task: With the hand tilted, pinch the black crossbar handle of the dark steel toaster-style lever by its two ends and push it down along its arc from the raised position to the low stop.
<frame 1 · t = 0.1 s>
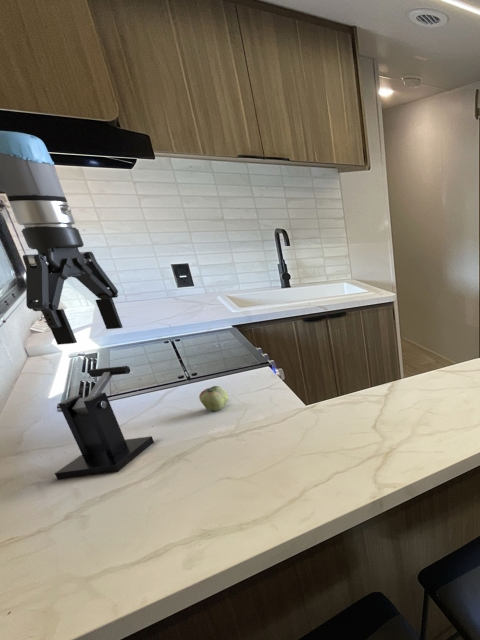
hand: (92, 335, 83), 24 cm above the countertop, tool pointing down, fingers open, 13 cm apart
apple: (217, 408, 106), on the countertop
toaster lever: (97, 389, 82), point 14 cm above the countertop, hinge at 25.0°
black lever stand: (109, 459, 82), on the countertop
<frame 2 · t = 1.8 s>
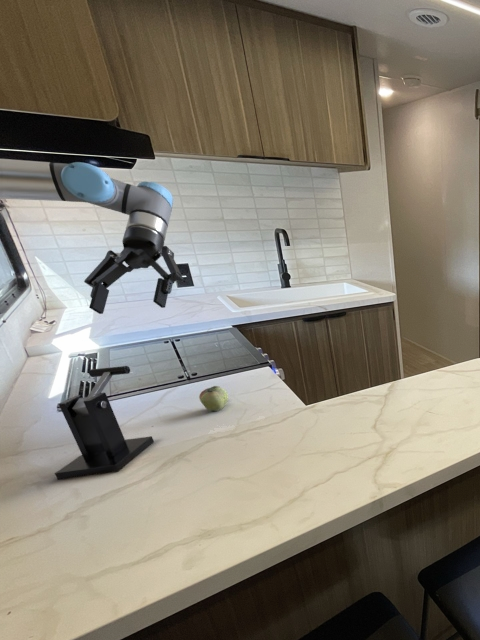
hand: (127, 307, 93), 28 cm above the countertop, tool tilted 45°, fingers open, 13 cm apart
nothing on the countertop moved.
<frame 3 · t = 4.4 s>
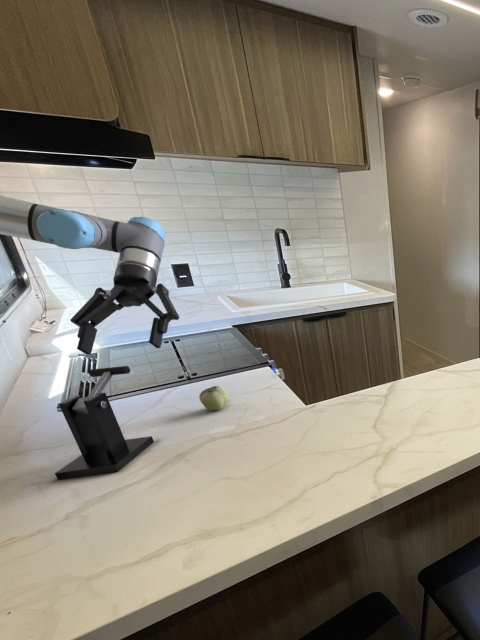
hand: (119, 348, 89), 20 cm above the countertop, tool tilted 45°, fingers open, 13 cm apart
nothing on the countertop moved.
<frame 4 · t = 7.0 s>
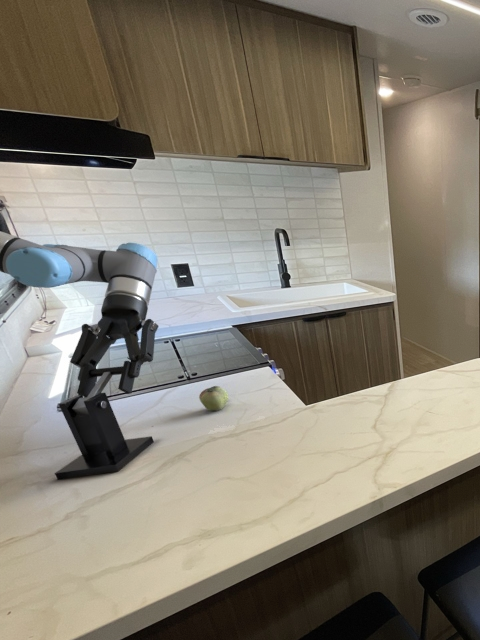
hand: (104, 393, 83), 13 cm above the countertop, tool tilted 45°, fingers closed on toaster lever, 6 cm apart
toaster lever: (97, 389, 82), point 14 cm above the countertop, hinge at 25.0°, touching gripper
everything else where it was.
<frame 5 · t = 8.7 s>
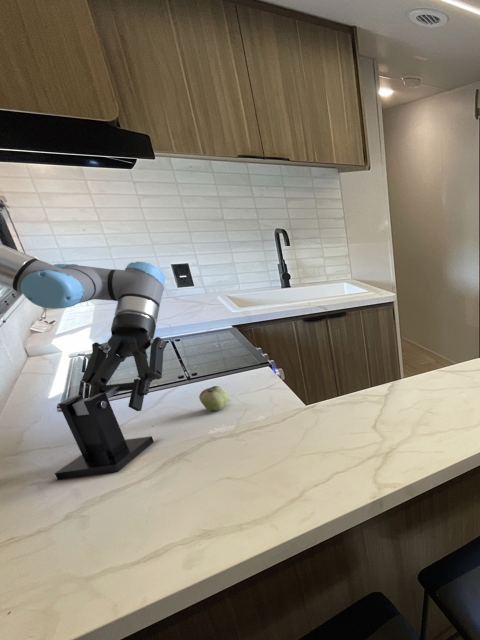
hand: (115, 410, 85), 8 cm above the countertop, tool tilted 45°, fingers closed on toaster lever, 6 cm apart
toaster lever: (103, 397, 83), point 12 cm above the countertop, hinge at 1.1°, touching gripper
everything else where it was.
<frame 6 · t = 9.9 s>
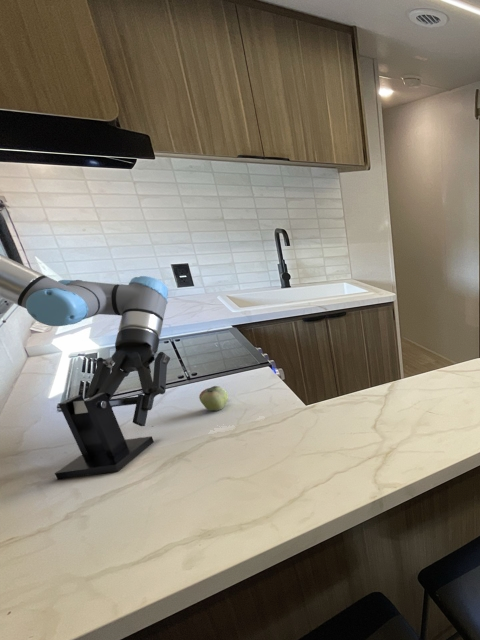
hand: (119, 426, 86), 5 cm above the countertop, tool tilted 45°, fingers closed on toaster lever, 6 cm apart
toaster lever: (105, 404, 83), point 11 cm above the countertop, hinge at -17.5°, touching gripper
everything else where it was.
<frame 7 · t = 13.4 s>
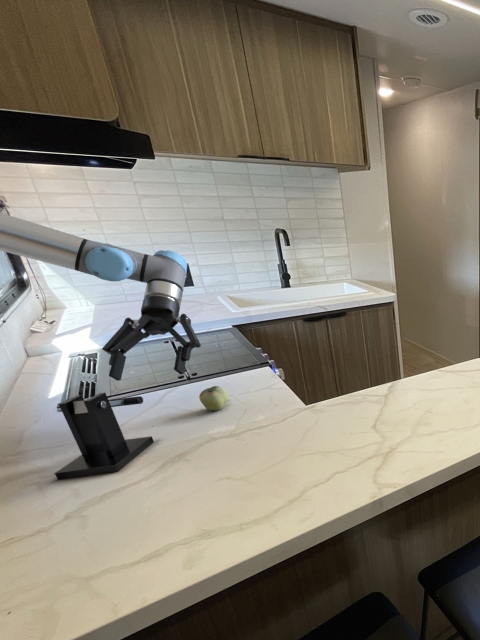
hand: (147, 375, 97), 12 cm above the countertop, tool tilted 45°, fingers open, 13 cm apart
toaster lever: (105, 404, 83), point 11 cm above the countertop, hinge at -17.6°
everything else where it was.
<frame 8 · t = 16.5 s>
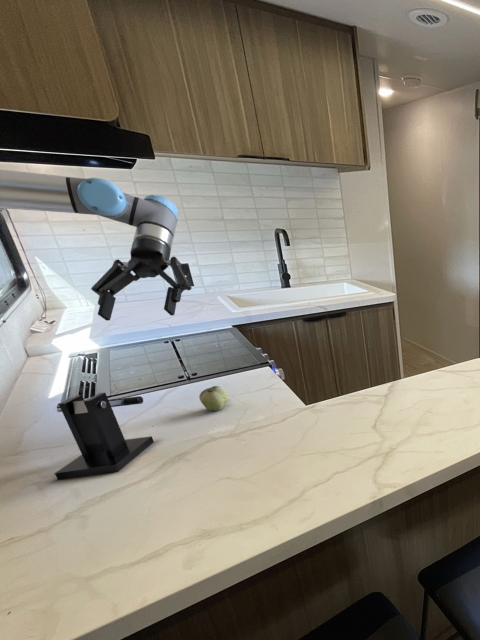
hand: (136, 314, 95), 26 cm above the countertop, tool tilted 45°, fingers open, 13 cm apart
nothing on the countertop moved.
at the end: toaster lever at -18° (first picture: +25°) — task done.
